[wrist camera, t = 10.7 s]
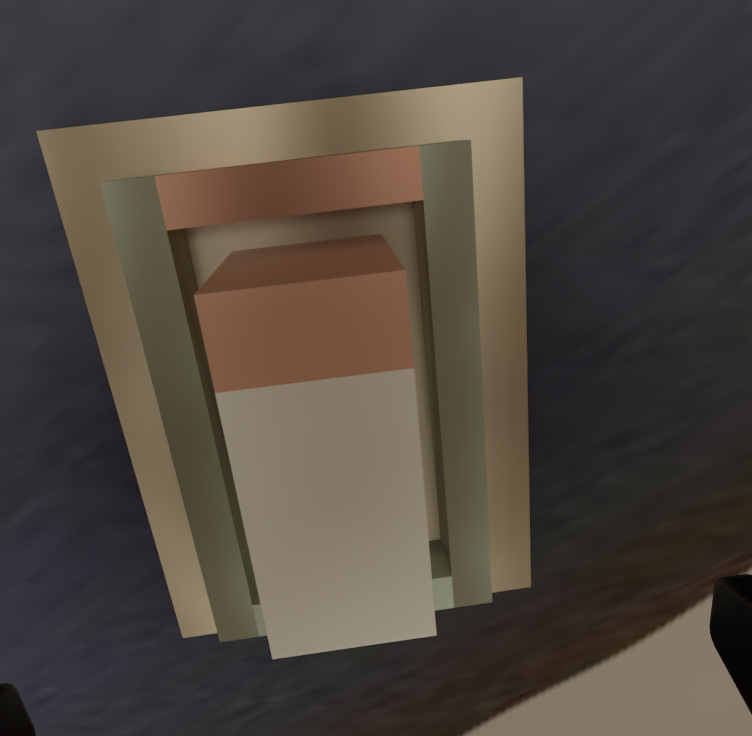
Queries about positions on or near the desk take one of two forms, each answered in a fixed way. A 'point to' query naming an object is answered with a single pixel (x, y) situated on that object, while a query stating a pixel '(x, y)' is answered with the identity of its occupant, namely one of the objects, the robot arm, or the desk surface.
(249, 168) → the slot holder
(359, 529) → the banded block
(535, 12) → the desk surface
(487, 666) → the desk surface
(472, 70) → the desk surface
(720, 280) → the desk surface
